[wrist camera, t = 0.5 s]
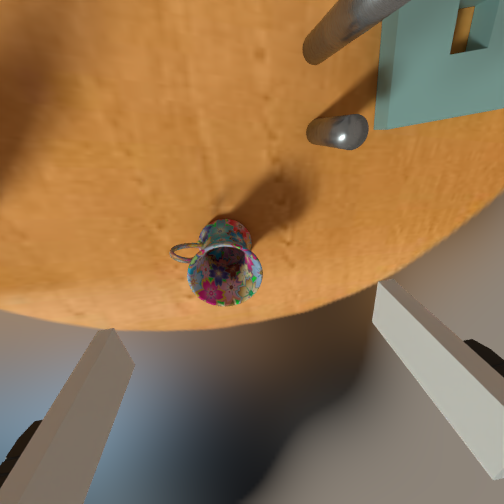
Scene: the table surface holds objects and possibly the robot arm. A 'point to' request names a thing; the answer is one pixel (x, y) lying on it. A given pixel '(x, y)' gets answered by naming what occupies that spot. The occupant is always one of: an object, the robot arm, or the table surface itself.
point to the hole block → (439, 63)
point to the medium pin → (338, 131)
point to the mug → (222, 264)
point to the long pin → (345, 26)
